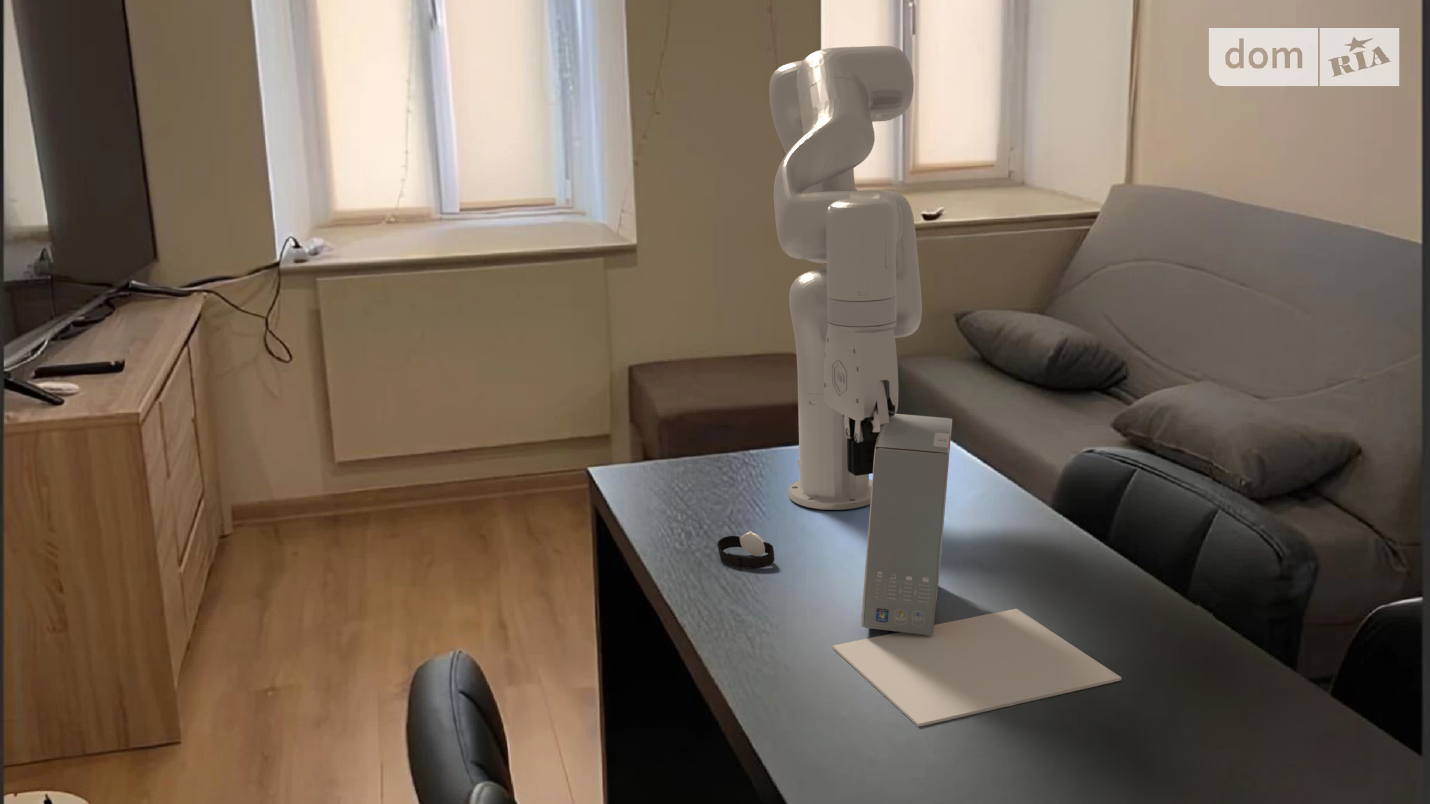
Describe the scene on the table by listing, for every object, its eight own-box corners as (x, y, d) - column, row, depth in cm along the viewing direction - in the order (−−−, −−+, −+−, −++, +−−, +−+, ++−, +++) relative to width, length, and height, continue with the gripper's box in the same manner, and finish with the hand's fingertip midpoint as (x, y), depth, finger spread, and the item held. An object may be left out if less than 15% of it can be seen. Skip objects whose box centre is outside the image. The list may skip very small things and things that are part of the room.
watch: (783, 562, 159) (782, 533, 158) (761, 574, 155) (760, 546, 154) (731, 550, 163) (730, 523, 162) (709, 562, 160) (707, 534, 159)
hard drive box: (934, 638, 135) (948, 453, 130) (860, 630, 137) (871, 446, 132) (940, 584, 150) (953, 415, 145) (872, 577, 151) (883, 410, 147)
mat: (832, 648, 135) (832, 645, 135) (1016, 611, 142) (1016, 608, 142) (918, 726, 118) (918, 723, 118) (1121, 680, 126) (1121, 677, 126)
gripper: (802, 305, 149) (805, 459, 154) (861, 327, 136) (863, 495, 140) (862, 299, 152) (863, 451, 156) (925, 320, 138) (925, 486, 143)
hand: (863, 472), depth 148 cm, fingers closed
